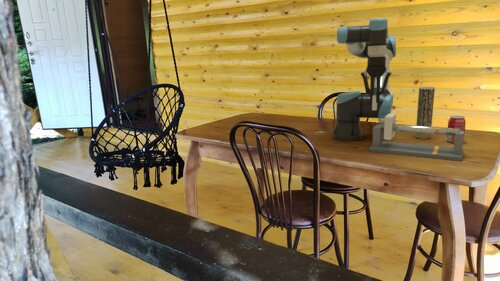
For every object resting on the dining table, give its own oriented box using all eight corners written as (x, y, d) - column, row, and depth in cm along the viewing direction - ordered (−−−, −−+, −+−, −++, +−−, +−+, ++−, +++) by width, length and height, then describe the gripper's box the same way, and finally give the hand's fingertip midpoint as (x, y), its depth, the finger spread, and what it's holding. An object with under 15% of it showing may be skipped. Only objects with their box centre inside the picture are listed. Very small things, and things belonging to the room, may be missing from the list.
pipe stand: (368, 151, 161) (369, 129, 158) (376, 143, 172) (377, 123, 170) (462, 161, 142) (464, 136, 140) (463, 152, 154) (465, 129, 151)
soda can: (449, 139, 174) (451, 114, 171) (465, 141, 170) (468, 116, 167) (444, 142, 170) (446, 117, 167) (460, 144, 165) (463, 118, 162)
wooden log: (432, 139, 175) (436, 87, 169) (417, 139, 177) (421, 88, 171) (428, 136, 182) (432, 86, 176) (414, 136, 183) (417, 86, 177)
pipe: (377, 130, 162) (377, 123, 161) (378, 129, 165) (379, 122, 164) (459, 137, 145) (459, 129, 145) (459, 135, 148) (460, 127, 147)
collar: (383, 139, 158) (384, 116, 156) (387, 134, 166) (389, 113, 163) (390, 139, 157) (392, 117, 154) (394, 135, 164) (396, 113, 162)
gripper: (359, 56, 156) (357, 110, 162) (390, 55, 150) (387, 112, 155) (363, 56, 162) (361, 107, 168) (394, 55, 156) (391, 109, 161)
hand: (374, 109), depth 162 cm, fingers closed
